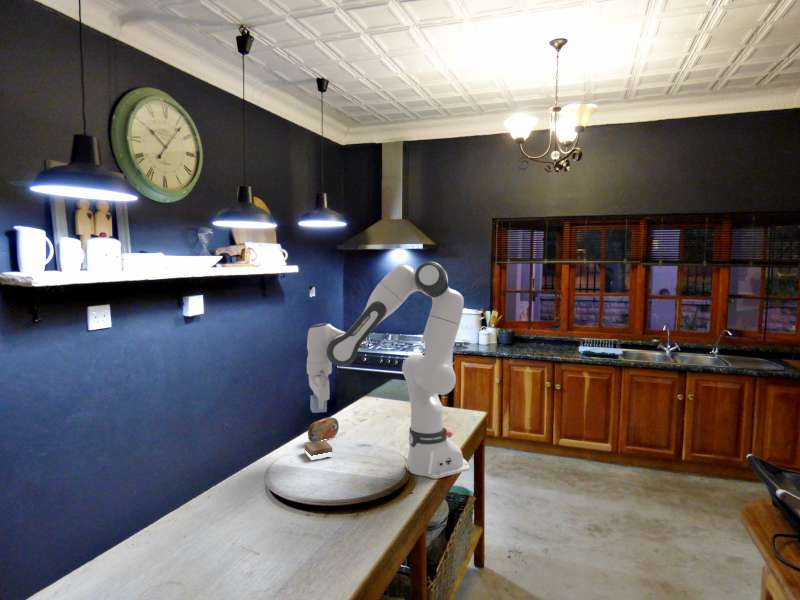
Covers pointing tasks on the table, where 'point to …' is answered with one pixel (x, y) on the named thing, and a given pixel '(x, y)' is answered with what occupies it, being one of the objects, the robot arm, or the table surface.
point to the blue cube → (314, 405)
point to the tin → (323, 429)
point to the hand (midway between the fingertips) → (318, 405)
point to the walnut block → (318, 447)
